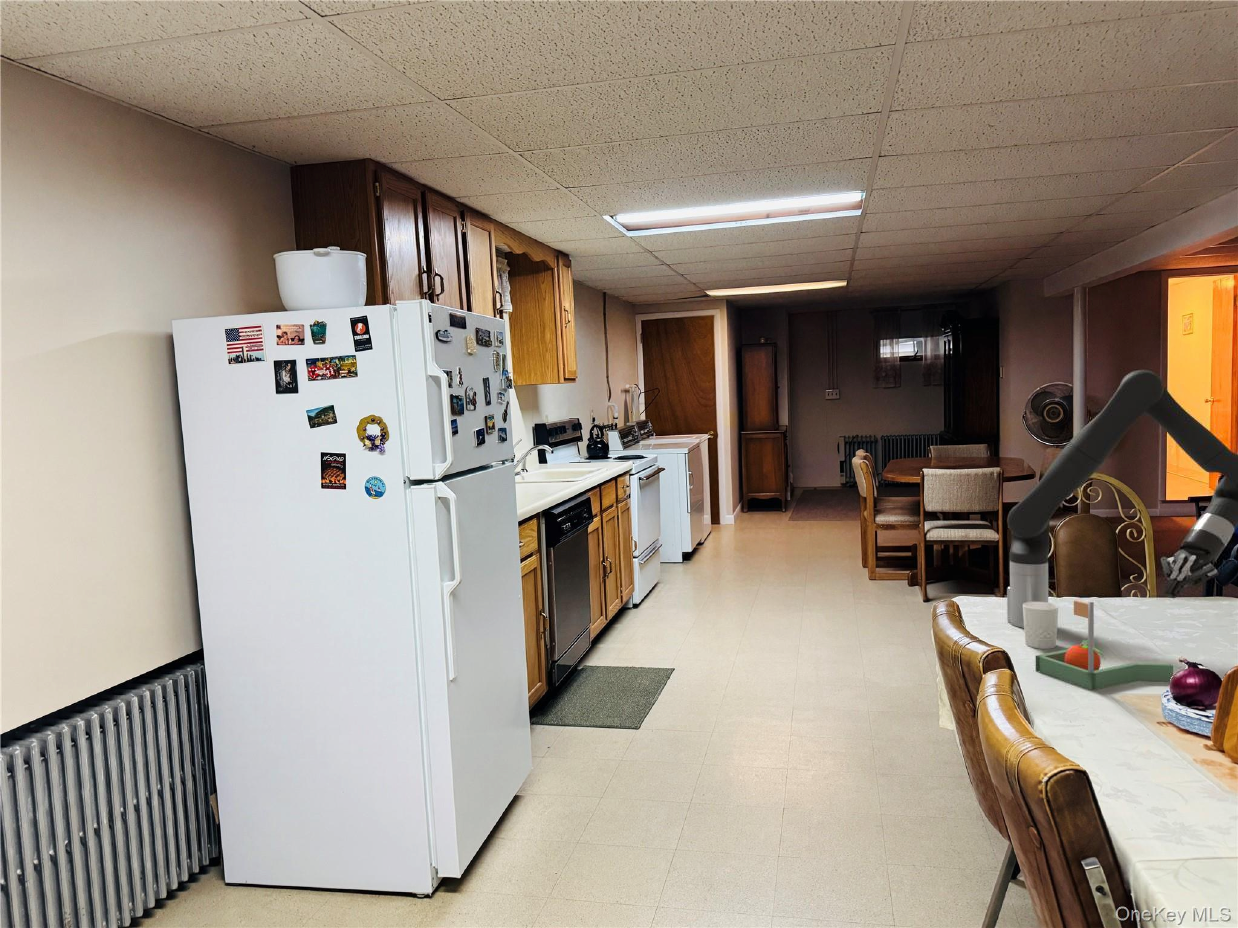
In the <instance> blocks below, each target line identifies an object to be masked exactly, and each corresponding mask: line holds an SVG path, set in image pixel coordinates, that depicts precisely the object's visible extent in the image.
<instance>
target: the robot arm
mask: <svg viewBox="0 0 1238 928" xmlns="http://www.w3.org/2000/svg"><path fill="white" fill-rule="evenodd" d="M1144 414H1145V415H1147V416H1149V417H1150V418H1151V419H1153V420H1154V421H1155V422H1156V424H1158V425H1159V426H1160V427H1161V428H1162V429H1163V430H1164V431H1165V432H1167V434H1168V435H1169V436H1170V437H1171V438H1172V440H1173V441H1174V442H1175V443H1176V444H1177V446H1179V447H1180V449H1181V450H1183V452H1185V454H1187V456H1188V457H1189V458H1190V459H1191V460H1192V461H1194V462H1195V463H1196V464H1197V465H1198V466H1199V467H1200V468H1202V470H1203V471H1205V472H1207V473H1212V474H1213V473H1218V474H1220V475H1223V476H1224V477H1223V478H1222V479H1221V480H1220V481H1219V482H1218V483H1217V485H1216V486H1215V488H1214V492H1213V494H1212V497H1211V501H1210V503H1209V505H1208V506H1207V508H1206V509H1205V510H1204V512H1203V514H1202V515H1201V516H1200V517H1199V518H1198V519H1197V520H1196V522H1195V523H1194V524H1193V525H1192V527H1191V528H1190V530H1189V531H1188V533H1187V535H1186V536H1185V537H1184V539H1183V541H1181V544H1180V548H1179V550H1178V551H1177V552H1175V553H1174V554H1173V556H1172V557H1168V558H1167V557H1166V556H1162V557H1161V558H1160V562H1161V567H1162V570H1163V574H1164V576H1165V577H1166V578H1167V580H1168V581H1167V584H1166V585H1165V587H1164V588H1163V591H1164V592H1163V593H1164V594H1165V596H1166V597H1167V598H1170V599H1171V598H1172V599H1176V598H1177V597H1179V596H1180V594H1181V593H1182V591H1183V590H1184V588H1185V587H1188V586H1192V587H1196V586H1199V585H1201V584H1203V583H1204V582H1207V581H1209V580H1211V579H1213V578H1215V577H1218V575H1219V572H1218V570H1217V569H1216V567H1214V566H1213V565H1214V562H1216V561H1217V560H1218V558H1219V557H1220V555H1221V554H1222V552H1223V550H1225V548H1226V547H1227V544H1229V542H1230V540H1231V539H1232V536H1233V534H1234V532H1235V530H1236V528H1237V527H1238V454H1237V453H1235V452H1234V451H1231V449H1229V447H1227V446H1226V445H1225V444H1224V443H1223V442H1222V441H1221V440H1220V439H1219V438H1218V437H1217V436H1216V435H1214V433H1212V432H1211V430H1209V429H1208V428H1207V427H1206V426H1205V425H1203V424H1202V423H1201V422H1199V421H1198V420H1197V419H1195V417H1193V416H1192V415H1191V414H1190V413H1189V412H1187V411H1186V409H1184V407H1182V406H1181V404H1180V403H1178V401H1176V399H1175V398H1174V397H1173V396H1172V395H1171V394H1170V392H1169V391H1168V389H1167V388H1166V387H1165V386H1164V383H1163V381H1162V379H1161V377H1160V376H1159V375H1158V374H1156V373H1155V372H1153V371H1151V370H1148V369H1138V370H1134V371H1131V372H1129V373H1128V374H1126V375H1125V376H1124V377H1123V378H1122V380H1121V381H1120V384H1119V386H1118V388H1117V389H1116V391H1115V392H1114V394H1113V395H1112V397H1111V398H1110V399H1109V401H1108V402H1107V403H1106V405H1105V406H1104V408H1103V409H1102V410H1101V411H1100V412H1099V413H1098V414H1097V415H1096V416H1095V417H1094V418H1092V420H1091V421H1089V422H1088V423H1087V424H1086V425H1085V426H1083V428H1081V430H1079V432H1077V433H1076V434H1075V435H1074V437H1072V439H1070V441H1069V442H1068V443H1067V444H1066V445H1065V446H1064V448H1063V449H1062V450H1061V451H1060V452H1059V453H1058V455H1057V457H1056V458H1055V459H1054V460H1053V462H1052V463H1051V464H1050V466H1049V467H1048V468H1047V470H1046V471H1045V473H1044V474H1043V476H1042V478H1041V479H1040V480H1039V482H1038V483H1037V484H1036V486H1035V487H1034V488H1033V489H1032V490H1030V492H1029V493H1028V494H1026V496H1025V497H1023V499H1022V500H1021V501H1020V502H1018V503H1017V504H1016V505H1015V506H1013V507H1012V508H1011V509H1010V511H1008V515H1007V519H1006V520H1007V527H1008V530H1010V532H1011V543H1010V550H1009V586H1008V587H1007V588H1006V598H1007V599H1006V601H1007V602H1006V607H1007V609H1006V613H1007V615H1006V616H1007V617H1006V620H1007V622H1008V623H1010V624H1011V625H1012V626H1015V627H1017V628H1022V629H1024V621H1023V604H1024V603H1026V602H1047V603H1049V551H1050V519H1051V518H1052V516H1053V515H1054V513H1055V512H1056V511H1057V509H1058V508H1059V507H1060V506H1061V504H1062V503H1063V502H1064V501H1065V500H1066V499H1068V497H1070V496H1071V495H1072V494H1073V493H1075V492H1076V491H1077V490H1078V489H1079V488H1080V487H1081V486H1082V485H1083V484H1085V483H1086V481H1088V480H1089V479H1090V478H1091V477H1092V476H1093V474H1095V473H1096V471H1097V470H1099V468H1100V467H1101V466H1102V465H1103V463H1105V461H1106V460H1107V459H1108V457H1109V456H1110V454H1111V453H1112V452H1113V451H1114V449H1115V448H1116V447H1117V446H1118V444H1119V442H1120V441H1121V440H1122V438H1123V437H1124V435H1125V434H1126V432H1127V431H1128V430H1129V429H1130V428H1131V427H1132V426H1133V425H1134V423H1136V422H1137V421H1138V419H1140V417H1142V416H1144Z"/></svg>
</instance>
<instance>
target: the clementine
mask: <svg viewBox="0 0 1238 928" xmlns="http://www.w3.org/2000/svg"><path fill="white" fill-rule="evenodd" d="M1068 649H1069V650H1068V651H1067V653H1066V655H1065V663H1067V664H1070V665H1073V666H1076V667H1079V668H1082V669H1085V670H1088V646H1086V645H1082V644H1081V643H1080V644H1076V645H1073V646H1072V647H1070V648H1068ZM1098 653H1099V654H1100V655H1101V656H1102V657H1103V659H1104V660H1106V658H1105V656H1104V654H1103V653H1102V652H1101V651H1100V650H1098V649H1097V648H1095V647H1094V671H1095V670H1100V668H1101V665H1102V664H1101V663H1102V662H1101V657H1100V655H1099V654H1098Z"/></svg>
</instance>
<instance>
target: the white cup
mask: <svg viewBox="0 0 1238 928" xmlns="http://www.w3.org/2000/svg"><path fill="white" fill-rule="evenodd" d="M1023 621H1024V628H1023V631H1024V641H1025V645H1026V646H1027V647H1030V648H1034V649H1041V650H1042V649H1043V650H1048V649H1049V650H1050V649H1054V648H1055V647H1056V646H1057V635H1058V626H1059V625H1058V623H1059V622H1058V621H1059V605H1058V604H1055V603H1051V602H1048V603H1047V602H1026V603H1024V604H1023Z"/></svg>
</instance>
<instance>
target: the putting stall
mask: <svg viewBox="0 0 1238 928" xmlns="http://www.w3.org/2000/svg"><path fill="white" fill-rule="evenodd" d="M1094 603H1095V602H1094V601H1088V602H1082V601H1078V600H1073V615H1074V616H1077V617H1082V618H1085V619H1087V621H1088V623H1087V626H1088V627H1087V629H1088V630H1087V639H1082V642H1081V643H1080V645H1081V644H1082V645H1086V646H1088V670H1085V669H1082V668H1079V667H1076V666H1073V665H1070V664H1067V663H1065V655H1066V653H1067V651H1068V650H1069V649H1070V648H1068V649H1063V650H1058V651H1052V652H1051V651H1050V652H1048V653H1047V652H1045V653H1041V654H1037V655H1035V672H1038V671H1040V672H1039V673H1041V674H1044V673H1045V675H1047V676H1049V675H1050V676H1049V677H1052V676H1054V677H1053V678H1055V679H1058V678H1059V679H1058V680H1061V679H1062V680H1061V681H1064V682H1067V681H1068V682H1067V683H1069V682H1071V683H1070V684H1072V683H1073V685H1075V684H1076V686H1078V685H1079V686H1078V687H1082V688H1084V687H1085V688H1084V689H1087V690H1089V689H1090V690H1089V691H1093V690H1094V689H1095V690H1098V689H1097V688H1100V689H1104V688H1108V687H1113V686H1119V685H1121V684H1128V683H1131V682H1137V681H1138V682H1139V681H1140V682H1165V683H1166V682H1168V683H1169V681H1170V679H1171V677H1172V676H1173V677H1174V665H1173V664H1172V663H1158V662H1157V663H1152V662H1151V663H1147V662H1131V663H1126V664H1125V663H1124V664H1121V665H1116V666H1110V667H1105V668H1101V669H1100V668H1099V670H1095V671H1094V648H1095V645H1094V644H1095V643H1094V642H1095V640H1094V639H1095V637H1094V636H1095V635H1094V633H1095V630H1094V629H1095V625H1094V623H1095V619H1094V617H1095V616H1094V615H1095V613H1094V611H1095V609H1094V608H1095V607H1094V606H1095V604H1094Z"/></svg>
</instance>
